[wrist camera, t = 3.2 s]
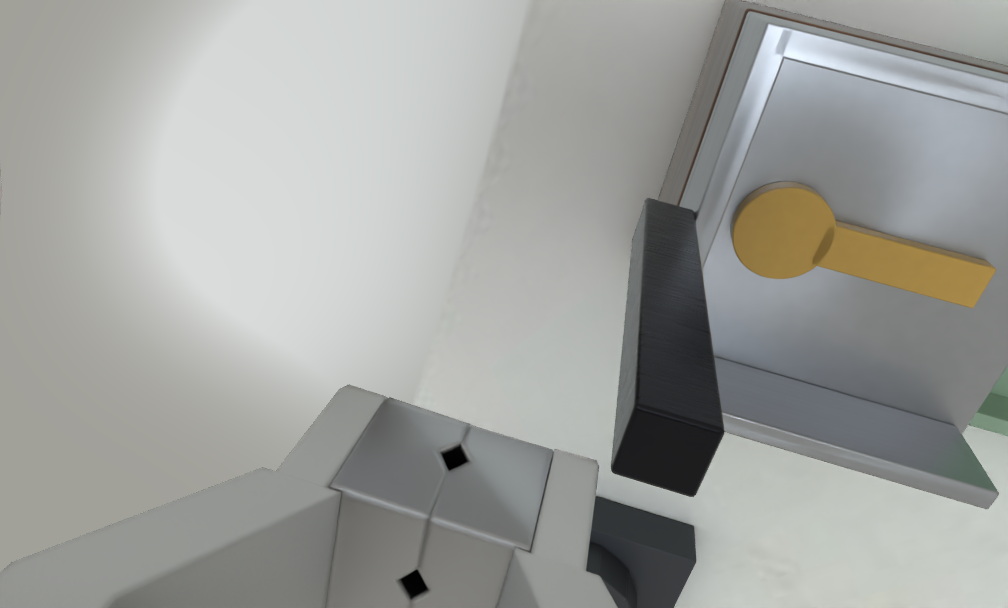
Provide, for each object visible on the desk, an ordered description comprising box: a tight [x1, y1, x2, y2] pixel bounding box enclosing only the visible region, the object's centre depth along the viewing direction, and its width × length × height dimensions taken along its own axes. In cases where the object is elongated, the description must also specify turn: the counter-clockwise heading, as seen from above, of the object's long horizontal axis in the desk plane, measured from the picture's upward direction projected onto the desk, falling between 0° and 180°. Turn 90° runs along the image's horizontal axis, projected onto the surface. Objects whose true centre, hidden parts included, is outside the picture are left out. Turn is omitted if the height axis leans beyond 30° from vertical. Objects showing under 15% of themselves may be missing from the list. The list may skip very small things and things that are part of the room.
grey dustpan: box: [611, 11, 1008, 509], centre depth 14 cm, size 11×10×12 cm
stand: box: [658, 0, 1008, 206], centre depth 23 cm, size 10×10×6 cm
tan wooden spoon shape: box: [731, 181, 996, 308], centre depth 19 cm, size 7×3×1 cm, turn 78°
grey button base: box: [586, 496, 696, 608], centre depth 33 cm, size 10×8×4 cm
